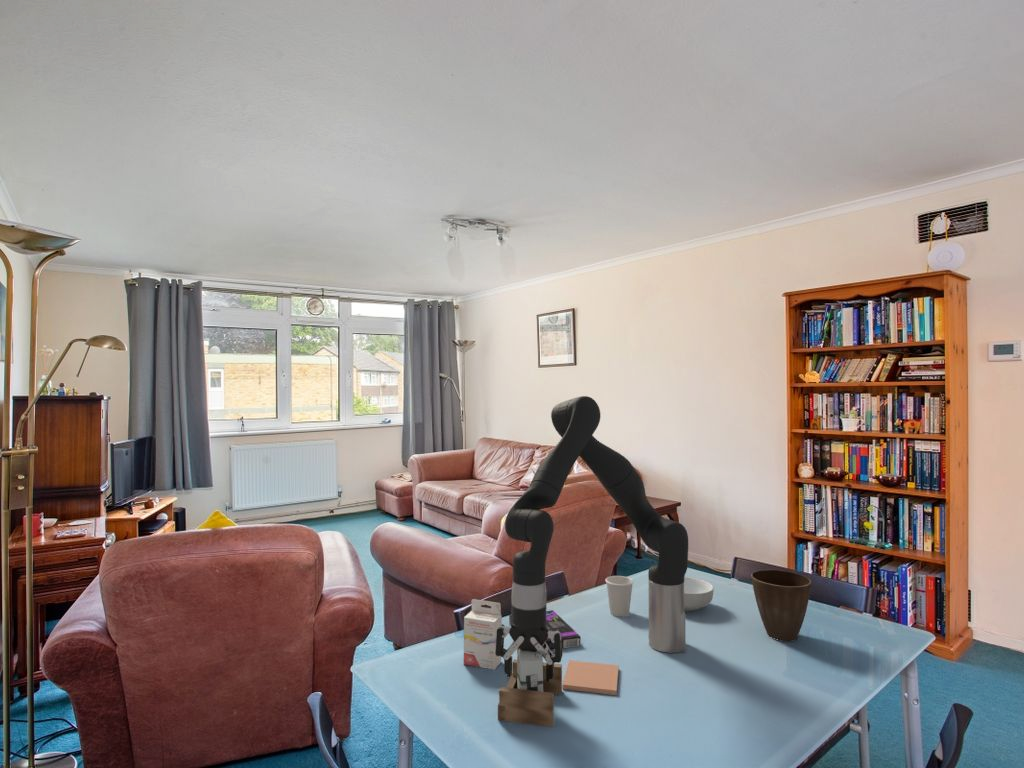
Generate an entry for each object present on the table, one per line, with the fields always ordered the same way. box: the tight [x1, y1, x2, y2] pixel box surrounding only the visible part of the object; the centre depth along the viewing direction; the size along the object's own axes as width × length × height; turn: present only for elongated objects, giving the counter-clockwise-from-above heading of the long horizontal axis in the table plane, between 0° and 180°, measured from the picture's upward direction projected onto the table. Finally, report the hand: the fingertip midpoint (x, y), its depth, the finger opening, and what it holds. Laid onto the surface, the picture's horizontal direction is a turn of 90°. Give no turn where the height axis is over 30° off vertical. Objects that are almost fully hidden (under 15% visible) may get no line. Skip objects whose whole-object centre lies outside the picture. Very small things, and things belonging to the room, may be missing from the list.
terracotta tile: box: [562, 659, 619, 696], centre depth 132 cm, size 12×12×1 cm
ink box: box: [516, 648, 544, 692], centre depth 122 cm, size 9×5×12 cm, turn 5°
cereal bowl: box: [684, 576, 714, 612], centre depth 178 cm, size 17×17×7 cm
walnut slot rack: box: [497, 658, 563, 728], centre depth 121 cm, size 11×14×6 cm
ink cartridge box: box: [463, 598, 503, 671], centre depth 140 cm, size 9×5×15 cm, turn 71°
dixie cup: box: [604, 575, 634, 618], centre depth 172 cm, size 8×8×10 cm
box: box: [508, 609, 582, 651], centre depth 157 cm, size 14×4×20 cm
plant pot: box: [751, 569, 812, 642], centre depth 156 cm, size 15×15×16 cm
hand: (528, 677), depth 122 cm, fingers open, 8 cm apart
